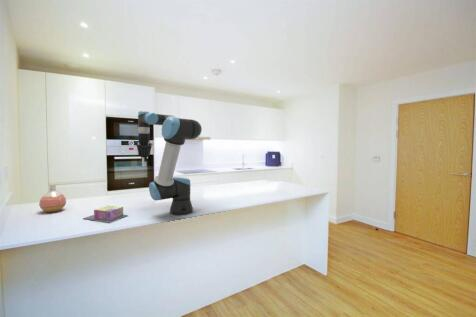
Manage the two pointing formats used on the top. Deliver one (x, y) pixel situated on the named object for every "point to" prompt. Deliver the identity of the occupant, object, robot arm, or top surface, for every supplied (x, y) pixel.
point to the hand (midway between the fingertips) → (144, 166)
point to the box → (108, 212)
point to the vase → (52, 200)
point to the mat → (103, 220)
